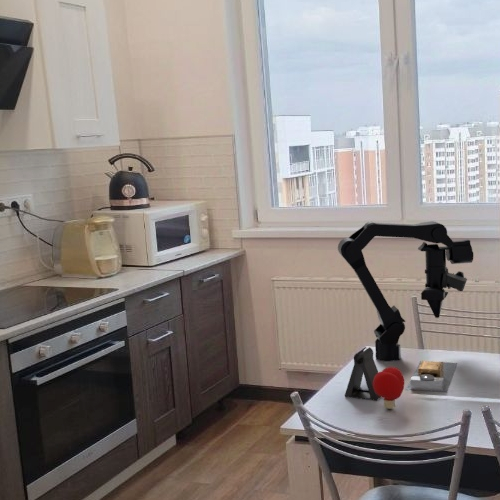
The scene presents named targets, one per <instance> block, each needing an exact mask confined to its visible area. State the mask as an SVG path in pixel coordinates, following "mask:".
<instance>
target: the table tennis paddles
mask: <svg viewBox="0 0 500 500" xmlns="http://www.w3.org/2000/svg"><path fill="white" fill-rule="evenodd" d="M373 388H374V391H375V392H376V394H377V395H379V396H381V398H382V399H383V407H384V408H385V409H387V410H389V411H391V410H393V409H394V408H395V407H396V400H398V399H399V398H400V397H401V395H402V394H403V392H404V388H405V377H404V374H403V373H402V372H401V370H400V369H398V368H397V367H394V366H393V367H392V366H388V367H385V368H384V369H383V370H381V371H378V373H377V374H376V376H375V377H374V380H373Z"/></svg>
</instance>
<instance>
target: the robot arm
mask: <svg viewBox="0 0 500 500" xmlns="http://www.w3.org/2000/svg"><path fill="white" fill-rule="evenodd" d="M375 237H383V238H384V237H385V238H387V237H389V238H406V239H407V238H408V239H416V240H421V241H424V242H422V243H421V245H419V246H418V248H417V250H419V251H420V252H424V253H425V254H424V255H425V256H424V257H425V269H424V274H425V279H426V281H425V284H424V289H423V290H422V291H421V293H420V295H421V296H420V297H421V298H420V300H422V301H426V302H427V303H428V306H429V308H430V309H431V312H432V314H433V315H434V318H436V319H439V318H440V316H441V310H442V305H443V301H444V300H445V299H446V298H447V296H448V294H449V291H446V290H445V289H448V290H449V289H451V288H452V289H455V290H457V291H459V292H463V291H464V289H465V287H466V284H467V281H468V279H467V277H465V274H464V272H463V271H459V270H458V271H457V272H456V273H451V272H449V268H448V267H447V261H448V262H449V263H450V264H451V265H457V264H458V265H460V264H468V263H469V264H470V263H473V261H474V251H473V246H472V245H471V240H470V239H462V240H453V239H451V237H450V236H449V235H448V229H447V227H446V226H445V225H444V224H442V223H440V222H437V221H435V220H434V221H424V222H420V223H419V222H418V223H413V224H409V223H407V224H406V223H390V222H389V223H388V222H387V223H386V222H385V223H384V222H373V221H367V222H366V223H365V224H364V225H363V226H362V227H360V228H359V229H358V230H357V231H355V232H354V233H352V234H350V236H349V237H345V238H342V239H341V240H340V241H339V242H338V245H337V251H338V253H339V254H340V255H341V257H342V258H343V259H344V260H345V261H346V263H347V264H348V266H350V267H351V269H352V270H353V271H354V273H355V275H356V276H357V278H358V280H359V282H360V283H361V285H362V287H363V289H364V290H365V292H366V295H368V297H369V300H370V301H371V303H372V305H373V306H374V308H375V310H376V313H377V316H378V317H377V318H378V320H379V325H377V327H376V328H375V329H374V330H373V332H374V335H375V338H376V340H375V341H374V344H375V360H378V361H382V362H392V361H400V360H401V358H402V357H401V355H402V354H401V344H399V339H400V337H401V336H402V335H403V334H404V333H405V329H406V325H405V323H406V320H405V319H404V318H403V317H402V315H401V312H400V309H398V307H396V306H395V305H392V306H390V305H389V303H388V301H387V300H386V298H385V296H384V294H383V293H382V291H381V289H380V288H379V285H378V284H377V282H376V280H375V278H374V277H373V275H372V273H371V271H370V269H369V268H368V267H367V264H366V259H365V256H364V253H363V250H364V249H365V248H366V247H367V246H368V244H369V243H370V242H371V241H372V239H374V238H375ZM427 242H428V243H429V244H428V243H427ZM430 243H431V244H430ZM439 244H442V245H444V246H439Z"/></svg>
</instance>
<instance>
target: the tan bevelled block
mask: <svg viewBox="0 0 500 500" xmlns="http://www.w3.org/2000/svg"><path fill="white" fill-rule="evenodd" d="M421 361H422V362H421V364H420V366H419V368H418V376H420V375H424V374H426V373H437V377H438V378H443V376H444V374H443V362H444V361H433V360H432V361H431V360H429V361H427V360H421Z"/></svg>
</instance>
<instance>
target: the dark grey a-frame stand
mask: <svg viewBox="0 0 500 500" xmlns="http://www.w3.org/2000/svg"><path fill="white" fill-rule="evenodd" d="M377 373H379V371H378V367H377V365H376V362H375V360H374V351H373V349H372V348H371V347H368V348H367V347H366V346H365V347H364V348H362V349H361V350H359V351H358V352H357V353H355V354H354V356H353V367H352V371H351V373H350V377H349V380H348V384H347V387H346V390H345V393H344V397H345V398H352V399H358V400H360V399H361V400H366V401H375V402H377V401H379V400H380V399H381V398H382V397H381V396H379V395H377V394H376V392H375V391H374V388H373V380H374V377H375V376H376V374H377ZM363 376H364V380H365V383H366V386H367V390H366V389H365V390H364V389H360V388H361V385H362V381H363Z"/></svg>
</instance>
